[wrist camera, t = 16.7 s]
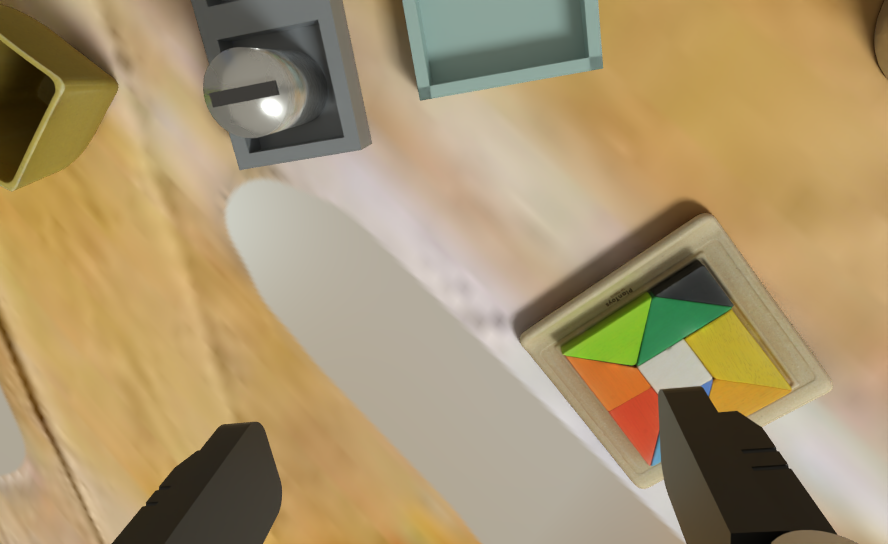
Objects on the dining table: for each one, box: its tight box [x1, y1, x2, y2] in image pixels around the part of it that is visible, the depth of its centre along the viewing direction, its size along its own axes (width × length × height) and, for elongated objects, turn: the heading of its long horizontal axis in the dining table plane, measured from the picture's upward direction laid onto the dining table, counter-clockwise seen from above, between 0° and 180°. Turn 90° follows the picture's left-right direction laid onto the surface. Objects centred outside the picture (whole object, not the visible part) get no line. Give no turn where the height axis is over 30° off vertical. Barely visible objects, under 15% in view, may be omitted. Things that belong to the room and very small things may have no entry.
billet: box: [203, 47, 328, 138], centre depth 36 cm, size 5×5×8 cm
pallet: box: [191, 0, 372, 170], centre depth 38 cm, size 19×9×3 cm, turn 10°
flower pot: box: [0, 4, 118, 191], centre depth 39 cm, size 9×9×9 cm
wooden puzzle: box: [520, 213, 833, 489], centre depth 45 cm, size 18×19×4 cm
